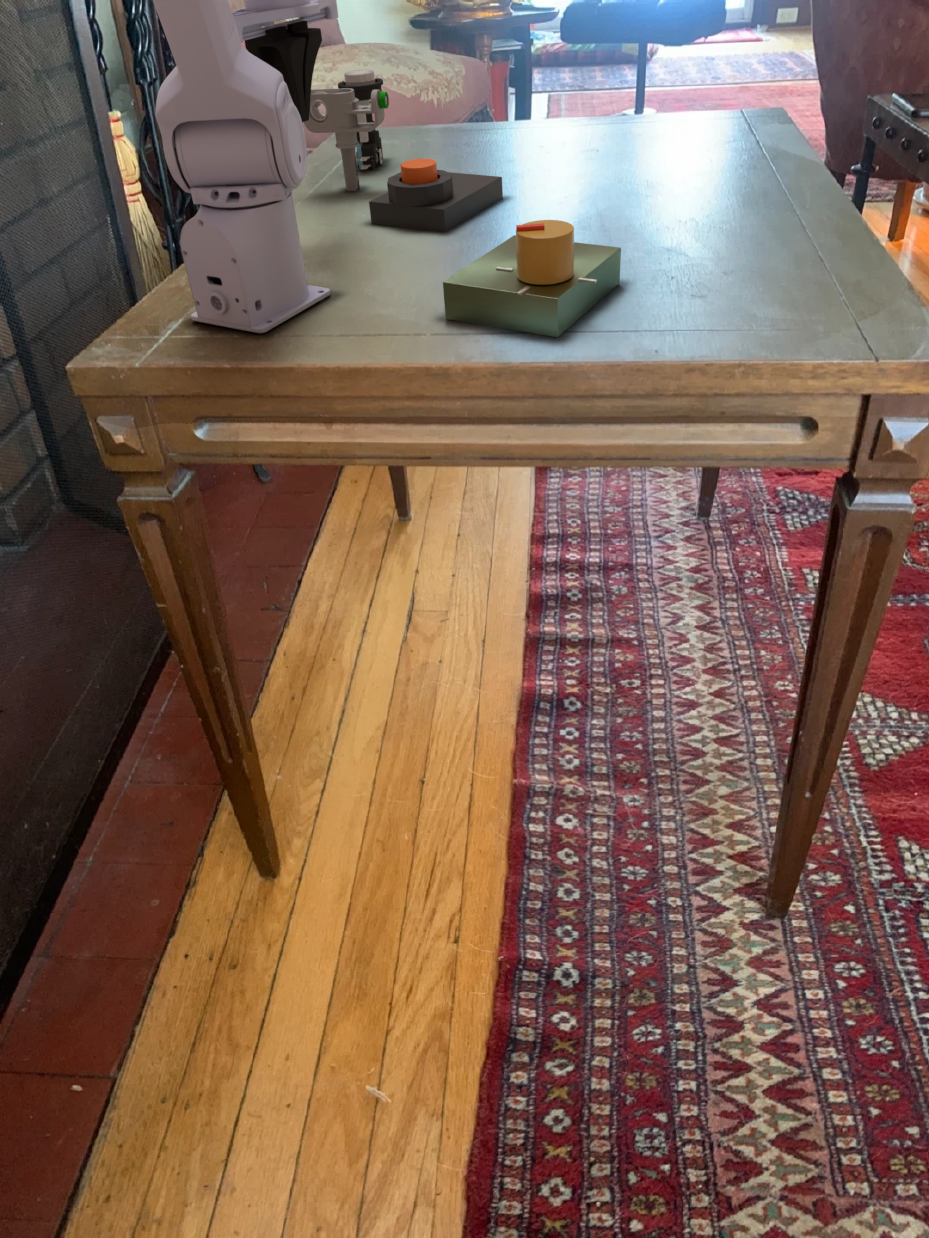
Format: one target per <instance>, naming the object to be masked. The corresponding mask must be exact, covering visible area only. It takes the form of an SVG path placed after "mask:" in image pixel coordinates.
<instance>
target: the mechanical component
mask: <svg viewBox="0 0 929 1238" xmlns="http://www.w3.org/2000/svg"><path fill="white" fill-rule="evenodd" d="M358 103H359V99H357V98H355V94H354V89H350V88H341V89H339V88H321V89H320V88H319V89H318V88H317V89H311V97H310V113H309V120H308V121H305V122H303V124H304V127H305V128H306V130H308V131H309V132H311V133H313V134H328V133H329V134H332V133H333V134H335V147H336V149H339V150H340V153H341V161H342V168H343V176H344V183H345V189H346V191H348V192H355V191H358V188H359V189H360V178H359V177H360V176H359V170H358V165H357V159H356V148H357V146H358V145H359V142H358V141H357V134H356V132H371V131H373V130H374V129H375V130H377V128H378V127H380V126H381V124H382V123H383V122H384V121H385V116H386V115H385V109H388V108H389V105H390V99H389V94H388V92H387V91H382V92H381V90H373V91H372V93H371V100H369V104H370V105H367V106H358ZM321 105H323V106H324V109H325V114H323V113H322V112H321V111H320V110H319V107H321ZM370 113H372V114H374V122H375V123H358V119H357V114H370Z"/></svg>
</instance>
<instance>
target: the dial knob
mask: <svg viewBox="0 0 929 1238" xmlns="http://www.w3.org/2000/svg"><path fill="white" fill-rule="evenodd" d="M515 235H516V254H517V277H518V279H519V280H521V281H523V282H525V283H529V284H535V285H549V284H556V283H561V282H564V281H566V280H568V279H570V278H571V277H572V276H573V274H574V242H575V227H574V225H573V224H572V223H570V222H567V221H564V220H559V219H540V220H539V219H538V220H532V221H528V222H525V223H523V224H516V226H515Z"/></svg>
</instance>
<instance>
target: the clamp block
mask: <svg viewBox="0 0 929 1238" xmlns="http://www.w3.org/2000/svg"><path fill="white" fill-rule="evenodd" d="M621 256H622V247H621V246H620V247H618V246H610V245H602V244H601V245H600V244H593V243H584V242H577V241H576V242H575V241H574V274H573V276H572V277H571V278H570V279H568V280H566V281H564V282H561V283H556V284H549V285H535V284H529V283H525V282H523V281H521V280H519V279H518V277H517V254H516V234H514V235H512V236H510V237H509V238H508V239H506V240H504V241H503V242H501V243H500V244H498V245H497V246H495V247H494V248H492V249H490V250H489V251H488V252H486V253H485V254H483V255H482V256H480V257H479V258H477V259H476V260H474V261H473V262H471V263H470V264H468V265H466V266H465V267H464V268H462V269H461V270H459V271H457V272H456V273H454V274H453V275H451V276H449V277H448V278H447V279H445V280H443V282H442V289H443V302H444V303H443V304H444V313H445V314H444V316H445V320H448V321H449V320H450V321H456V322H461V323H469V324H474V325H480V326H486V327H492V328H498V329H505V330H511V331H516V332H522V333H528V334H534V335H539V336H547V337H552V338H559V337H560V336H562V335H563V334H564V333H565V331H567V330H568V329H569V328H570V327H571V326H573V325H574V324H575V323H576V322H577V321H578V320H579V319H581V318H582V317H583V316H584V315H585V314H586V313H588V312H589V311H590V310H591V309H592V308H593V307H595V306H596V305H597V304H598V303H599V302H600V301H602V299H604V298H605V297H607V295H608V294H610V293H611V292H612V291H613V290H614V289H616V288H617V287H618V286H619V285H620V284H621V283H620V281H621V262H622V261H621V258H622V257H621Z"/></svg>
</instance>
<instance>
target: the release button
mask: <svg viewBox="0 0 929 1238" xmlns="http://www.w3.org/2000/svg"><path fill="white" fill-rule="evenodd" d="M437 170H438V165H437V161H436V160H435V159H432V158H414V159H413V158H412V159H409V160H408V159H407V160H405V161H403V162H402V163H400V173H401V175H402V183H408V184H421V183H428V182H432V181H436V180H438V177H437Z"/></svg>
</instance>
